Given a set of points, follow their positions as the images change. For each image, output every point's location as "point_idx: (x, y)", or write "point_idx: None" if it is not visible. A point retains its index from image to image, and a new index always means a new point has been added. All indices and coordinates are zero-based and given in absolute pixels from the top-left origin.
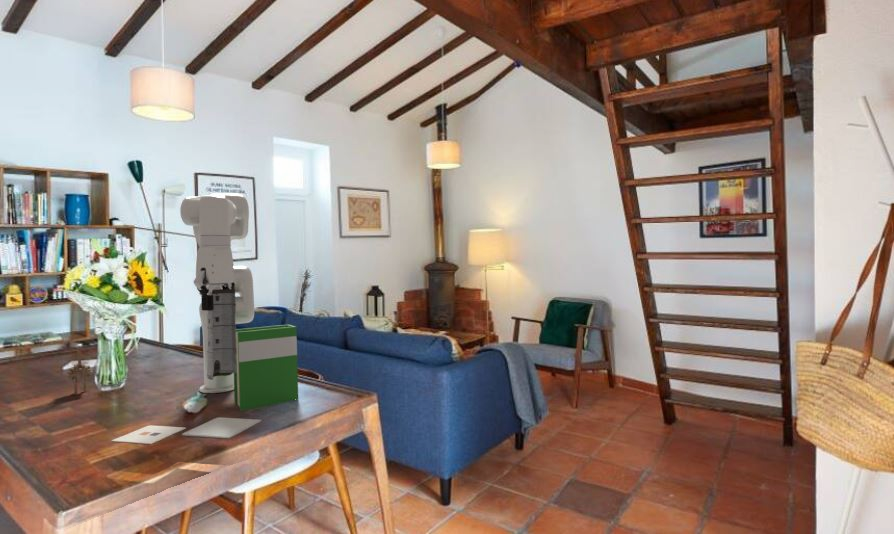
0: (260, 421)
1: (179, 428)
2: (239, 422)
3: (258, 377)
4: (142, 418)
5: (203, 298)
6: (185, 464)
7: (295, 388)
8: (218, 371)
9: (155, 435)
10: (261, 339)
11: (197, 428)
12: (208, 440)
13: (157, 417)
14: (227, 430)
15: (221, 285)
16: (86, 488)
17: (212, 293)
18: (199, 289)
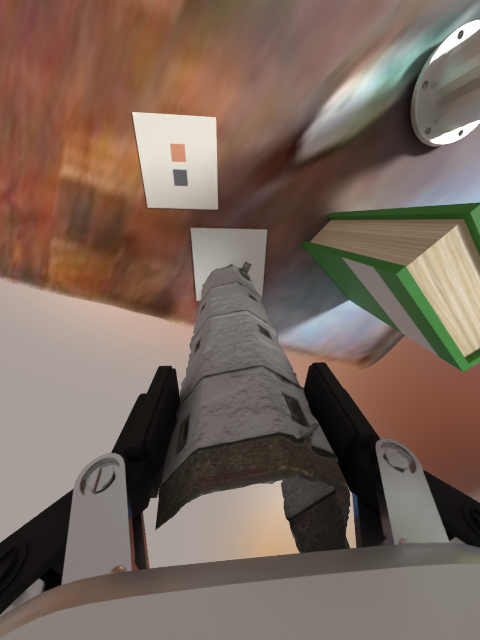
0: None
1: (212, 200)
2: None
3: (342, 274)
4: (256, 44)
5: (120, 445)
6: (117, 304)
7: (359, 305)
8: (247, 272)
9: (175, 184)
10: (403, 307)
11: (215, 234)
12: (184, 279)
13: (265, 84)
14: None
15: (386, 537)
16: (18, 247)
17: (281, 434)
18: (9, 554)
